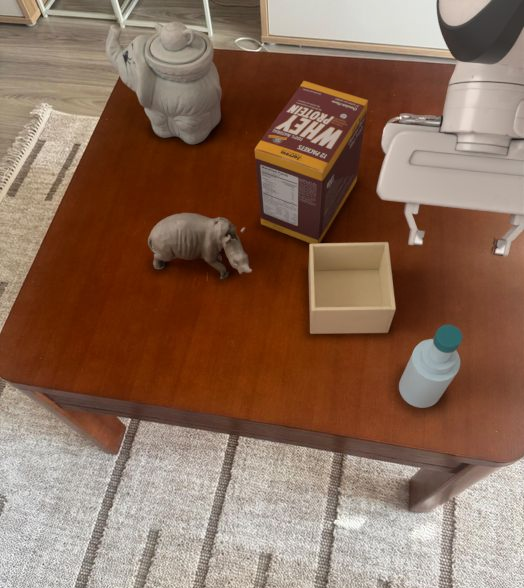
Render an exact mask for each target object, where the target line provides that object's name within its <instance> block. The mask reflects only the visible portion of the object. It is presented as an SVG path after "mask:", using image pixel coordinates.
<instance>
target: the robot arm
mask: <svg viewBox="0 0 524 588" xmlns="http://www.w3.org/2000/svg"><path fill="white" fill-rule="evenodd" d="M435 4H436V17H437V22H438V27H439V30H440V34H441V36H442V39H443V41H444V43H445V45H446V47H447V49H448V51H449V53H450V55H451V56H452V57H453V58H454V59H455V60H456V63H455V67H454V70H453V72H452V75H451V77H450V79H449V81H448V85H447V88H446V95H445V100H444V105H443V109H442V115H431V114H423V115H421V114H419V115H418V114H413V113H409V112H408V113H407V112H404V113H399V115H398V116H394V117H392V118H390V119H389V120H388V121H387V122H386V123H385V125H384V127H383V129H382V135H381V141H380V148H381V151H382V153H383V154H384V159H383V161H382V164H381V168H380V171H379V175H378V179H377V184H376V190H375V192H376V195H377V196H378V197H379V198H380V200H382V201H389V202H396V203H397V202H398V203H404V207H403V214H404V217H405V219H406V222H407V225H408V227H409V233H408V234H409V235H408V238H407V239H408V241H407V244H408V245H409V246H414V247H422V246H423V244H424V240H423V238H424V237H425V233H426V230H424V229H420V228H418V226H417V223H416V221H415V218H414V215H418V214H419V210H420V205H426V206H434V207H442V208H453V209H461V210H462V209H463V210H470V211H481V212H490V213H499V214H507V215H509V219H508V224H510V225H511V227H510V228H509V229H508V230H507V231H506V232H505V234H504V235H503V236H502V237H501V238H499V237H494V238H493V242H492V244H493V246H492V247H491V250H490V251H491V252H490V253H491V255H493V256H499V257H508V256H509V252H510V250H511V245H512V242H514V241H515V240H516V239H517V237H519V235H521V233H522V232H523V231H524V0H436V3H435ZM397 121H398V123H396V122H397Z"/></svg>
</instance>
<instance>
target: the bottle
mask: <svg viewBox="0 0 524 588" xmlns="http://www.w3.org/2000/svg"><path fill="white" fill-rule="evenodd" d="M463 337H464V336H463V333H462V331H461V330H460V329H459V328H458V327H457V326H455V325H453V324H444V325H441V326H440V327H438V328H437V330H436V332H435V334H434V335H433V338H428V339H425V340H422V341H420V342H419V343H418V344H417V345H416V346H415V347H414V349H413V350H412V353H411V354H410V357H409V359H408V362H407V364H406V366H405V369H404V370H403V373H402V375H401V377H400V380H399V383H398V390H399V393H400V395H401V397H402V399H403V400H404V401H405V402H406V403H407V404H409V405H410V406H413V407H415V408H420V409H425V408H430V407H432V406H434V405H436V404H437V403H438V401H440V399H441V397H442V396H443V394H444V393H445V391H446V390H447V388H448V387H449V386H450V384H451V382H453V380H454V378H455V377H456V376H457V374H458V372H459V370H460V368H461V358H460V355H459V353H458V351H457V350H458V349H459V347H460V345H461V343H462V342H463Z"/></svg>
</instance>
